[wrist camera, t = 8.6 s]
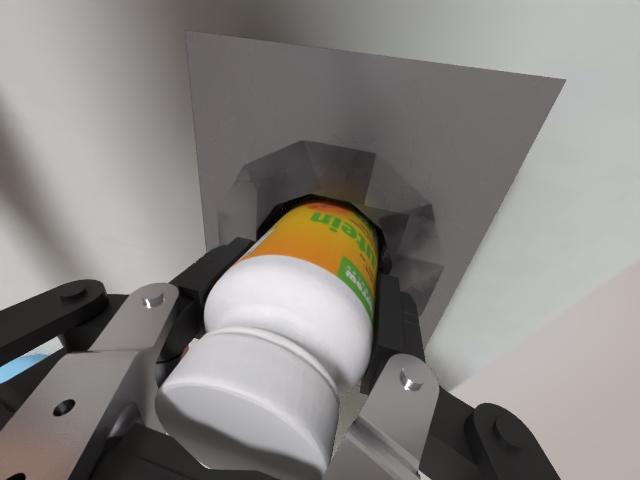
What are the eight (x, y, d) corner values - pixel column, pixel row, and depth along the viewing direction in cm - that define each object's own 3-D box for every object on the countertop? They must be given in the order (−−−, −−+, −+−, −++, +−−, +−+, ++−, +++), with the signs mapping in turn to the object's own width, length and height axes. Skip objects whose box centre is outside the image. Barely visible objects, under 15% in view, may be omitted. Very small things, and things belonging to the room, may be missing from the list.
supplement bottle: (401, 237, 12) (435, 491, 4) (337, 295, 15) (276, 521, 7) (318, 169, 12) (157, 301, 4) (266, 242, 15) (103, 416, 6)
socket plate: (232, 50, 11) (167, 22, 8) (517, 89, 9) (586, 76, 6) (238, 308, 19) (207, 349, 15) (396, 355, 17) (398, 413, 14)
